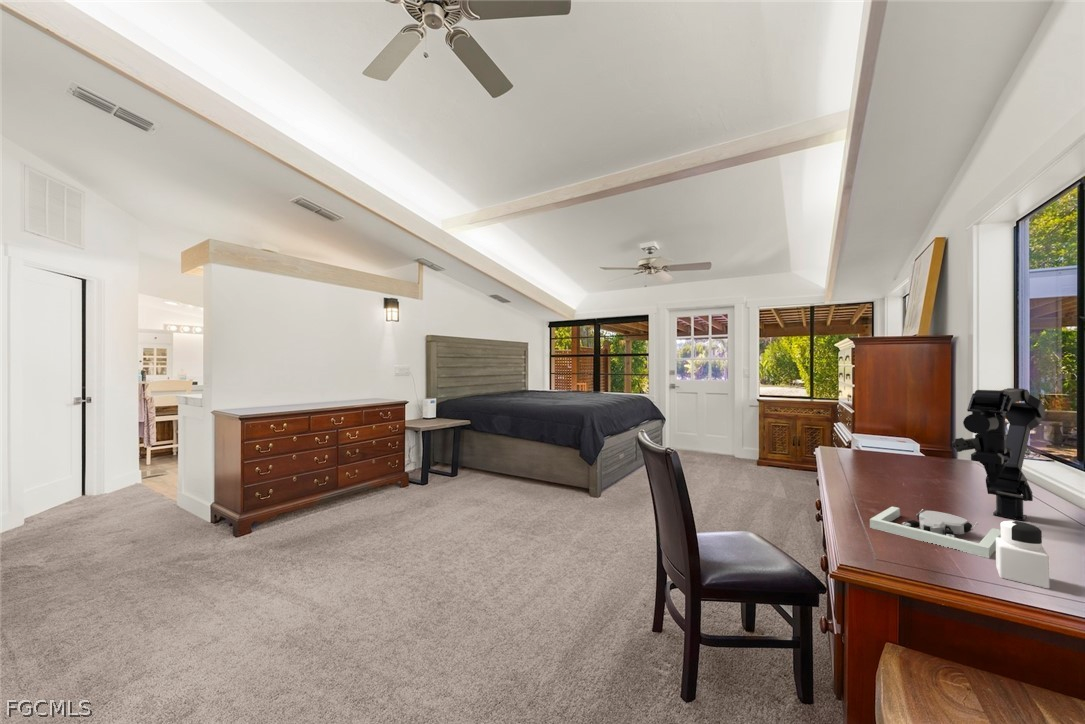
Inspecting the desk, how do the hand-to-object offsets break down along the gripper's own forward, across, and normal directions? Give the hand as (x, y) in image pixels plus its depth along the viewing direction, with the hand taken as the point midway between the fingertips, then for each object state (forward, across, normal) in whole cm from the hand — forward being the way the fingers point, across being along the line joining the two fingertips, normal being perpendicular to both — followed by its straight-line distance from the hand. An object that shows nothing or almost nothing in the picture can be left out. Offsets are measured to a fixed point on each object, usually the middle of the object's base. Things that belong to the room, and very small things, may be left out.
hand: (992, 482), depth 126 cm
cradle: (+12, +26, -8) cm, 29 cm away
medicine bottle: (+12, +43, +10) cm, 46 cm away
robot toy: (+12, +24, -7) cm, 28 cm away
